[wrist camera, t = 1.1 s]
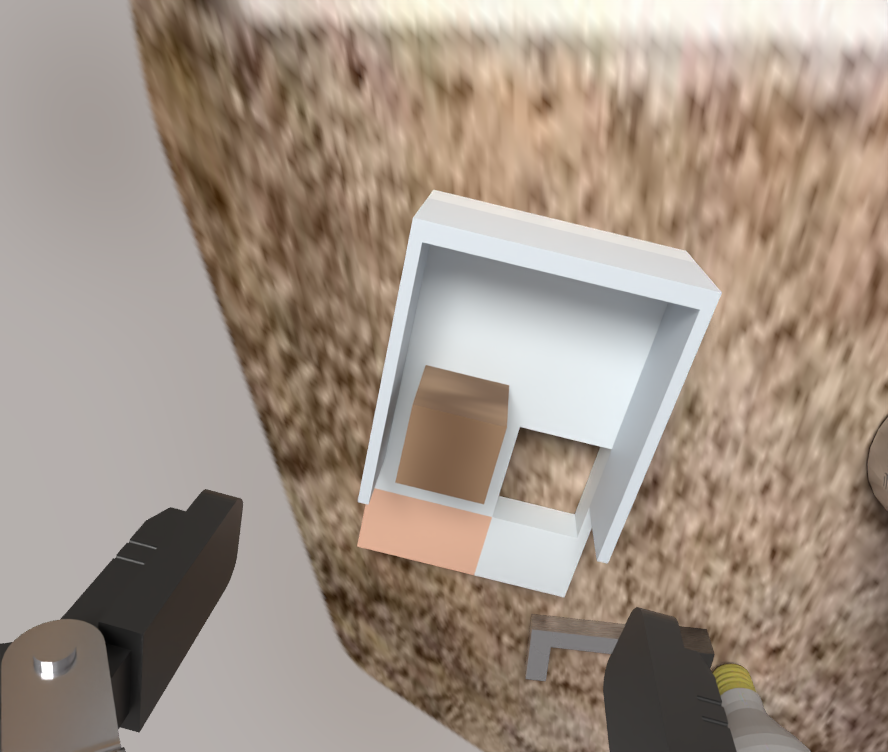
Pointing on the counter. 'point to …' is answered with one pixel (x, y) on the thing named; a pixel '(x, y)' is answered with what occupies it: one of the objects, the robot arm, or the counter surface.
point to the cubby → (532, 378)
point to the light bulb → (751, 715)
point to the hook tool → (590, 640)
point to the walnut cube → (454, 434)
